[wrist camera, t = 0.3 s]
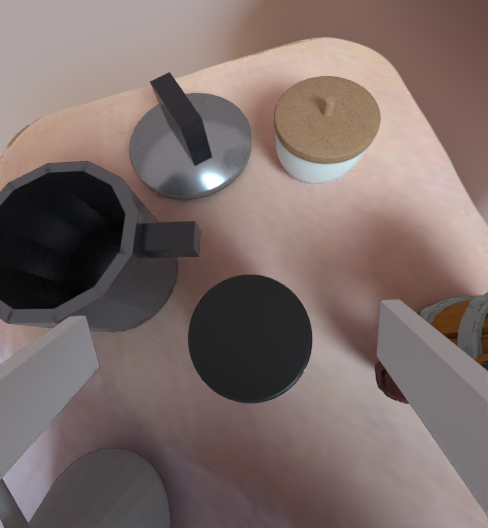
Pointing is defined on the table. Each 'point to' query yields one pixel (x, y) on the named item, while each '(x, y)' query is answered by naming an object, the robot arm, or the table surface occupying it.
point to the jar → (250, 338)
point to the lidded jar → (324, 128)
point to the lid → (189, 142)
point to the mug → (450, 333)
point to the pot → (85, 250)
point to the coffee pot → (97, 495)
